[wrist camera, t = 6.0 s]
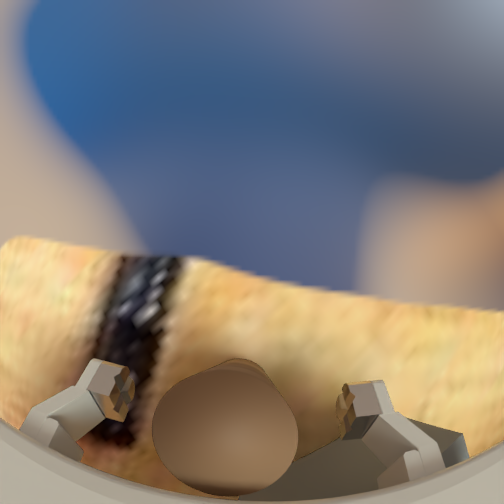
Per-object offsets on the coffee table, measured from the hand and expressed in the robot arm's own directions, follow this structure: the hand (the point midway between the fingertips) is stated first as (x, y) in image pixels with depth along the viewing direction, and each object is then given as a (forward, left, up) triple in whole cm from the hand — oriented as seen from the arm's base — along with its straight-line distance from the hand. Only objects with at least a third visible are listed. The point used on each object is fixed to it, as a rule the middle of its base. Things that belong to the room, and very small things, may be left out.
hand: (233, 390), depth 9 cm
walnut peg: (-1, 0, -6) cm, 6 cm away
